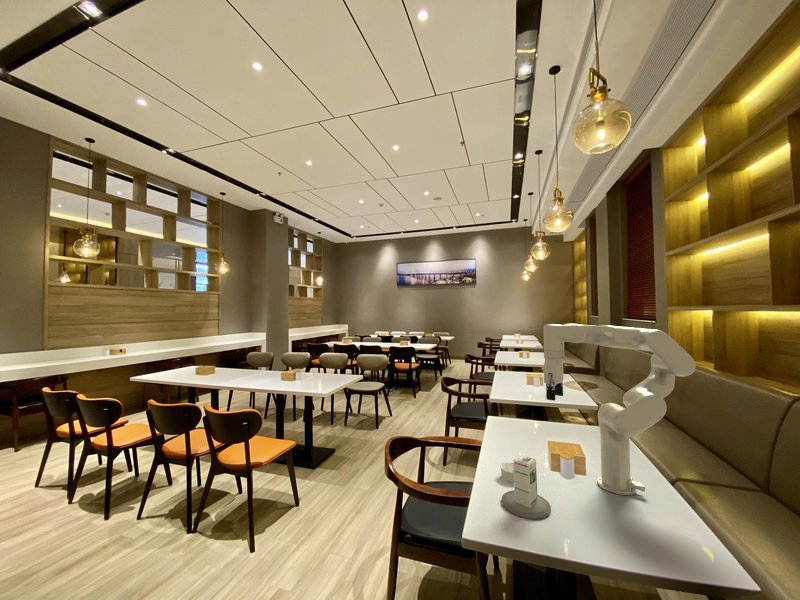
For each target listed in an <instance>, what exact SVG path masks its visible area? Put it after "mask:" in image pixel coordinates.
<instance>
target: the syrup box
mask: <svg viewBox="0 0 800 600" xmlns="http://www.w3.org/2000/svg"><path fill="white" fill-rule="evenodd" d="M513 463H514V482H513V484H514V485H513V486H514V492H515V502H517V503H519V504H521V505H524V506H526V507H528V508H531V507H532V506H533V505H534V504H535V503H536V502H537V495H538V483H537V476H538V475H537V460H536V459H535V458H533V457H529V456H525V455H520V456H518V457H517V458H516V459H514V460H513Z"/></svg>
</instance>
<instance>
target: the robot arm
mask: <svg viewBox="0 0 800 600" xmlns="http://www.w3.org/2000/svg"><path fill="white" fill-rule="evenodd" d="M542 331H543V359H544V363H543V364H544V366H543V382H544V384H545V390H546V391H545V392H546V393H545V396H546V397H545V398H546V401H553V402H555V401H556V396H559V397H563V396H564V382H563V381H564V362H563V360H565V343H573V344H579V343H585V344H592V345H597V346H601V347H607V348H613V349H614V348H615V349H626V350H637V351H645V352H652V353H653V354H652V355H651V357H650V372H649V373H650V374H649V375H648V376H647V377H646V378H645V379H644V380H642V381H640V382H639V383H638V384H635V386H633V387H632V388H630V389H629V390H627V391H626V392H624V395H623V397H622V403H623V404H624V406H625V407H624V406H622V405H620V404H617V403H614V402H606V403H603V404H602V405H601V406H600V407H598V411H597V422H598V427H599V434H600V470H601V471H600V472H601V476H599V477H598V478H597V479H596V483H597V485H598V486H599V487H600V488H602V490H605V491H607V492H609V493H613V494H616V495H620V496H632V495H633V496H634V495H635V494H636V493H637V490H638V491H640V492H644V493H645V492H646V486H645V485H643V483H642V482H639V481H635V480H634V479H633V478H634V477H633V476H631V475H632V474H631V452H630V451H631V444H630V443H631V441H630V438H633V437H637V436H638V435H640V434H642V433H643V432H644V431H646V430H648V429H649V428H651V427H652V426H654V425H655V424H657V423H658V422H660V421H661V420H662V419H663V418H664V416H665V415H666V413H667V409H668V407H667V406H668V405H667V402H666V401H665V398H666V397H667V396H669V395H670V394H671V393H672V391H673V390H674V388H675V383H676V377H681V378H683V377H685V378H686V377H688V376H690V375H692V374H693V373H695V371H696V366H697V365H696V362H695V359H694V358H693V357H692V356H691V355H690V354H689V352H687V351H686V350H685V349H684V348H683V347H682V346H681V345H680V344H679V343H678V342H677V341H676V340H675V339H673V338H672V337H671V336H670V334H668V333H666V332H665V331H663V330H660V329H655V328H654V329H652V328H642V327H629V326H616V325H589V324H578V323H568V322H567V323H564V324H557V323H556V324H555V323H548V324H544V325H543V330H542Z"/></svg>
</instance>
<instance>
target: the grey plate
mask: <svg viewBox="0 0 800 600" xmlns="http://www.w3.org/2000/svg"><path fill="white" fill-rule="evenodd" d="M501 505H502V507H503V508H504V510H506V511H507V512H508V513H510V514H512V515H513V516H515V517H519V518H521V519H526V520H534V521H535V520H536V521H539V520H544V519H546V518H548V517H549V516H550V515H551V514H552V508H551V507H552V506H551V504H550V502H549V501H548V500H547V499H545V498H544V496H541V495H539V494H537V502H536V503H535V504H534V505H533V506H532V507H531V508H528V507H526V506H524V505H521V504H519V503H517V502H515V492H514V490H510V491H509V490H508V491H507V492H505V493H503V494H502V495H501Z"/></svg>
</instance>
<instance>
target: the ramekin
mask: <svg viewBox="0 0 800 600" xmlns="http://www.w3.org/2000/svg"><path fill="white" fill-rule="evenodd" d="M499 467H500V474H501V477H502V479H503V480H504V481H506V482H510V483H514V462H503V463H501V464H500V466H499Z"/></svg>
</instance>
